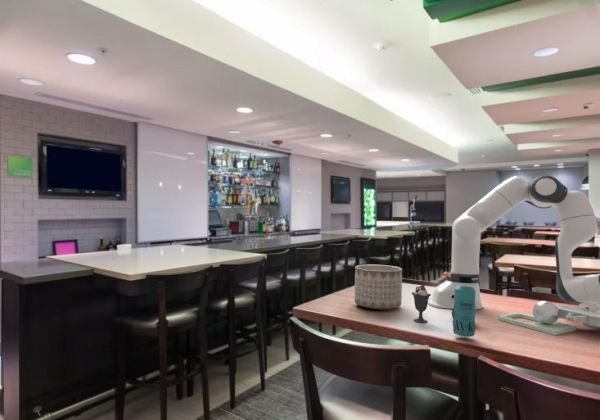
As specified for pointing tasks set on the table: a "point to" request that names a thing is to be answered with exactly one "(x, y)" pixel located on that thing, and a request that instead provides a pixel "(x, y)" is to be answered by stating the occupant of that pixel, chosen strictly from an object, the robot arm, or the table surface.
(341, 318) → the table surface
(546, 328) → the hole plate
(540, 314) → the steel ball
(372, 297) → the planter
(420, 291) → the sundae
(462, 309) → the beverage bottle
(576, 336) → the table surface
